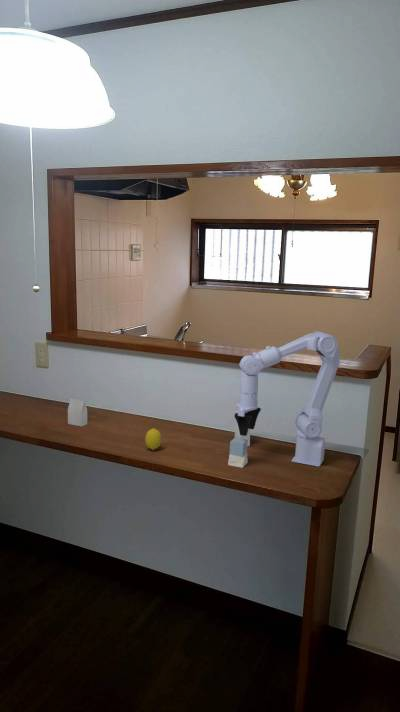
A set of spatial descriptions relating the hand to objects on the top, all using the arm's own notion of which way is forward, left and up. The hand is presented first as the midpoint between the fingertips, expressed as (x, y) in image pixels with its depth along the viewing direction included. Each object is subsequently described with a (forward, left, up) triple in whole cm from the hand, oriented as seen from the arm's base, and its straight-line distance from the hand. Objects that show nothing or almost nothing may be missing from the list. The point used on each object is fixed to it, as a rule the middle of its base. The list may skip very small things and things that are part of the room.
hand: (247, 431), depth 171 cm
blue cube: (+2, +4, -7) cm, 8 cm away
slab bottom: (+2, +3, -11) cm, 11 cm away
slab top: (+2, +4, -9) cm, 10 cm away
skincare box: (+7, -16, -11) cm, 20 cm away
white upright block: (+73, -5, -11) cm, 74 cm away
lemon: (+32, +6, -11) cm, 34 cm away
